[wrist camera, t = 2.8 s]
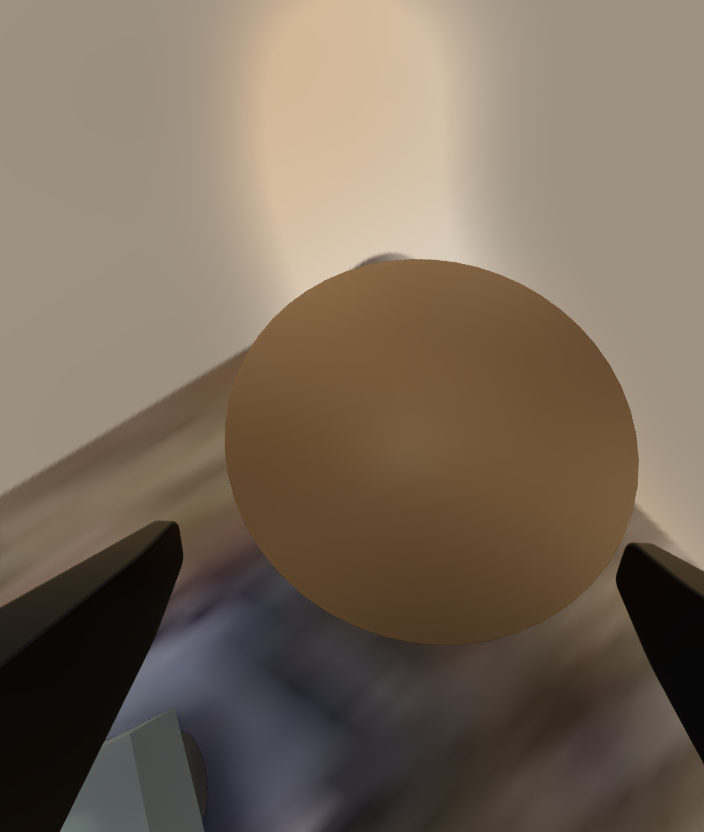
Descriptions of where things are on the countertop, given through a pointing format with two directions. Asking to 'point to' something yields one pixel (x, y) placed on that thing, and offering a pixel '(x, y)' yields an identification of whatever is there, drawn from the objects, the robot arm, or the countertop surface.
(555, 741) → the countertop surface
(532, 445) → the walnut post
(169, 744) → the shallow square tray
